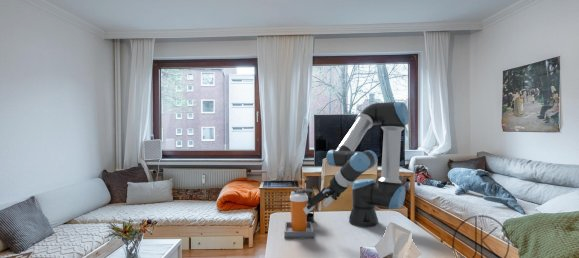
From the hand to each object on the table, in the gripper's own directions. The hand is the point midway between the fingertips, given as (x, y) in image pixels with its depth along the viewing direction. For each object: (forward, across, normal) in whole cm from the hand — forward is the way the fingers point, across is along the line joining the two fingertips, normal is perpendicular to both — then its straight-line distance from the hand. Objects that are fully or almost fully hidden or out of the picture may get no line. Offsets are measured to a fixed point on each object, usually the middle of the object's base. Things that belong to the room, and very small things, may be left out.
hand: (315, 208), depth 138 cm
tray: (+18, 0, -3) cm, 18 cm away
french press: (+25, +15, +4) cm, 29 cm away
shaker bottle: (+17, 0, -2) cm, 17 cm away
